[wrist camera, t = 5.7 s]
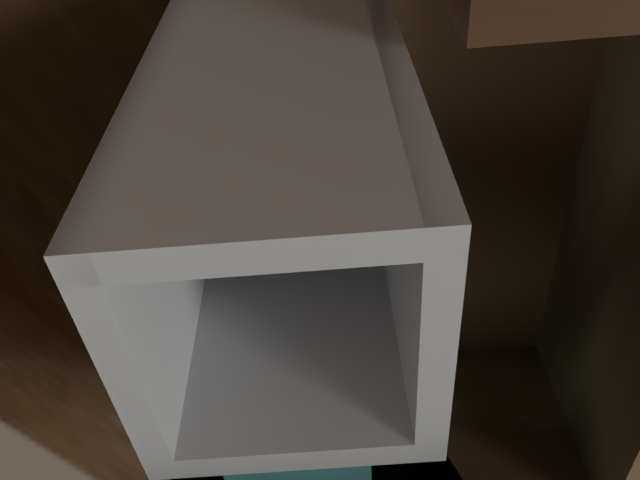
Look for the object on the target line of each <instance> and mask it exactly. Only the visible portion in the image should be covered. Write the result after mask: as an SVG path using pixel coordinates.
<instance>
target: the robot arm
mask: <svg viewBox="0 0 640 480" xmlns="http://www.w3.org/2000/svg"><path fill="white" fill-rule="evenodd" d="M371 474H372V480H463V479H462V477H461V476H460V474H459V473H458V471H457V469H456V468H455V466H454V465H453V463H452V462H451V460H450V458H449V457H448V455H447V456H446V461H434V462H419V463H404V464H389V465H374V466H371ZM171 480H224V477H223V476H208V477H193V478H178V479H171Z"/></svg>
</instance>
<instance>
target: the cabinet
mask: <svg viewBox="0 0 640 480" xmlns="http://www.w3.org/2000/svg"><path fill="white" fill-rule="evenodd" d="M390 3H391V6H392V9H393V11H394V14H395V17H396V19H397V22H398V25H399V28H400V30H401V33H402V36H403V39H404V41H405V44H406V47H407V49H408V52H409V55H410V58H411V60H412V63H413V66H414V69H415V71H416V74H417V77H418V79H419V82H420V85H421V88H422V90H423V93H424V96H425V99H426V101H427V104H428V107H429V109H430V112H431V115H432V118H433V120H434V123H435V126H436V129H437V131H438V134H439V137H440V139H441V142H442V145H443V148H444V150H445V153H446V156H447V159H448V161H449V164H450V167H451V169H452V172H453V175H454V178H455V180H456V183H457V186H458V189H459V191H460V194H461V197H462V199H463V202H464V205H465V208H466V210H467V213H468V216H469V219H470V221H471V224H472V226H471V235H470V245H469V254H468V263H467V272H466V281H465V291H464V300H463V309H462V318H461V327H460V336H459V346H458V355H457V364H456V373H455V382H454V392H453V401H452V410H451V419H450V428H449V437H448V447H447V455H448V457H449V458H450V460H451V462H452V463H453V465H454V466H455V468H456V469H457V471H458V473H459V474H460V476H461V477H462V479H463V480H640V0H390Z"/></svg>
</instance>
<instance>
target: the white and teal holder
mask: <svg viewBox="0 0 640 480" xmlns="http://www.w3.org/2000/svg"><path fill="white" fill-rule="evenodd" d="M471 226H472V224H471V221H470V219H469V216H468V213H467V210H466V208H465V205H464V202H463V199H462V197H461V194H460V191H459V189H458V186H457V183H456V180H455V178H454V175H453V172H452V169H451V167H450V164H449V161H448V159H447V156H446V153H445V150H444V148H443V145H442V142H441V139H440V137H439V134H438V131H437V129H436V126H435V123H434V120H433V118H432V115H431V112H430V109H429V107H428V104H427V101H426V99H425V96H424V93H423V90H422V88H421V85H420V82H419V79H418V77H417V74H416V71H415V69H414V66H413V63H412V60H411V58H410V55H409V52H408V49H407V47H406V44H405V41H404V39H403V36H402V33H401V30H400V28H399V25H398V22H397V19H396V17H395V14H394V11H393V9H392V6H391V3H390V0H170V2H169V4H168V6H167V8H166V10H165V12H164V14H163V16H162V18H161V20H160V22H159V24H158V26H157V28H156V30H155V32H154V34H153V36H152V38H151V40H150V42H149V44H148V46H147V48H146V50H145V52H144V54H143V56H142V58H141V60H140V62H139V64H138V66H137V68H136V70H135V72H134V74H133V76H132V78H131V81H130V83H129V85H128V87H127V89H126V91H125V93H124V95H123V97H122V99H121V101H120V103H119V105H118V107H117V109H116V111H115V113H114V115H113V117H112V119H111V121H110V123H109V125H108V127H107V129H106V131H105V133H104V135H103V137H102V139H101V141H100V143H99V145H98V147H97V149H96V151H95V153H94V155H93V157H92V159H91V161H90V163H89V165H88V167H87V169H86V171H85V173H84V175H83V177H82V179H81V181H80V183H79V185H78V187H77V189H76V191H75V193H74V195H73V197H72V199H71V201H70V203H69V205H68V207H67V209H66V211H65V213H64V215H63V217H62V219H61V221H60V223H59V225H58V227H57V229H56V231H55V233H54V235H53V237H52V240H51V242H50V244H49V246H48V248H47V250H46V252H45V254H44V256H43V258H44V260H45V262H46V264H47V266H48V268H49V270H50V272H51V274H52V277H53V279H54V281H55V283H56V285H57V287H58V289H59V291H60V293H61V295H62V298H63V300H64V302H65V304H66V306H67V308H68V310H69V312H70V314H71V317H72V319H73V321H74V323H75V325H76V327H77V329H78V331H79V333H80V335H81V338H82V340H83V342H84V344H85V346H86V348H87V350H88V352H89V354H90V357H91V359H92V361H93V363H94V365H95V367H96V369H97V371H98V373H99V375H100V378H101V380H102V382H103V384H104V386H105V388H106V390H107V392H108V394H109V397H110V399H111V401H112V403H113V405H114V407H115V409H116V411H117V413H118V415H119V418H120V420H121V422H122V424H123V426H124V428H125V430H126V432H127V434H128V437H129V439H130V441H131V443H132V445H133V447H134V449H135V451H136V453H137V455H138V458H139V460H140V462H141V464H142V466H143V468H144V470H145V472H146V474H147V477H148V479H149V480H163V479H178V478H193V477H208V476H223V477H224V480H372V474H371V466H374V465H389V464H404V463H419V462H434V461H446V456H447V447H448V437H449V428H450V419H451V410H452V401H453V392H454V382H455V373H456V364H457V355H458V346H459V336H460V327H461V318H462V309H463V300H464V291H465V281H466V272H467V263H468V254H469V245H470V235H471Z"/></svg>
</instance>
